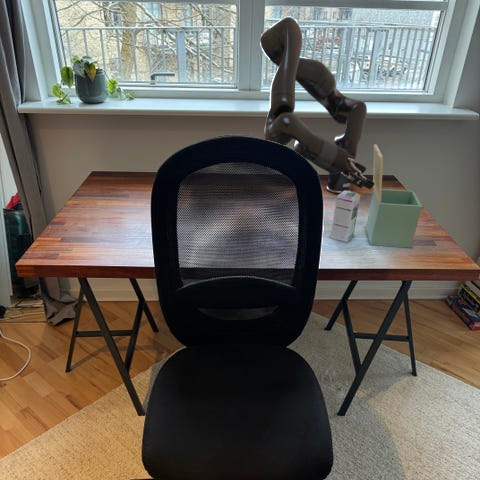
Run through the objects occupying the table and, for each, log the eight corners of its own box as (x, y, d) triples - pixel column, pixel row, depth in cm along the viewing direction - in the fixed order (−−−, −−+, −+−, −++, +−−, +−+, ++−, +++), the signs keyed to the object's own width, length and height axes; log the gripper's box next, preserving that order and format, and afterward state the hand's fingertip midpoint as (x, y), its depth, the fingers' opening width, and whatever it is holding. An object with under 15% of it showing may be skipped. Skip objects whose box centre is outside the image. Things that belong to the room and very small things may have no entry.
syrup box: (347, 242, 145) (355, 199, 136) (329, 237, 147) (336, 194, 139) (353, 236, 149) (361, 193, 140) (336, 231, 151) (343, 189, 143)
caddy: (403, 230, 153) (413, 190, 145) (410, 247, 143) (422, 206, 135) (365, 227, 154) (373, 188, 146) (370, 245, 144) (379, 203, 136)
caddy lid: (376, 144, 138) (373, 144, 138) (382, 157, 128) (380, 157, 128) (375, 186, 146) (372, 187, 146) (381, 202, 136) (378, 202, 136)
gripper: (314, 154, 139) (353, 175, 147) (325, 179, 130) (366, 201, 137) (330, 133, 135) (369, 156, 142) (342, 158, 125) (384, 181, 133)
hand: (368, 178), depth 140 cm, fingers open, 8 cm apart
